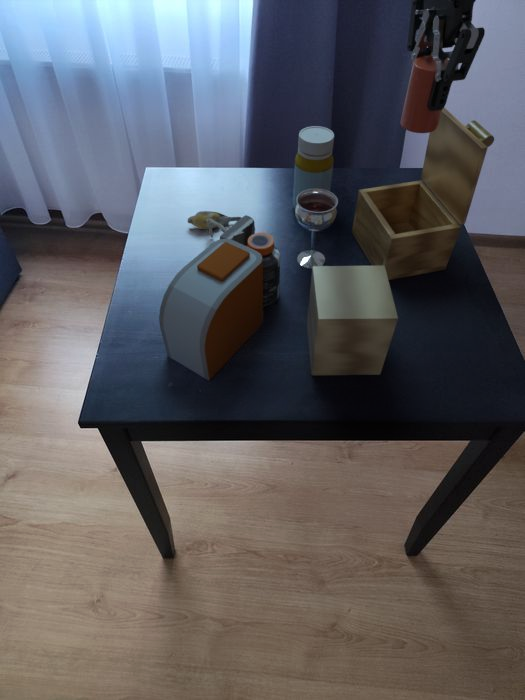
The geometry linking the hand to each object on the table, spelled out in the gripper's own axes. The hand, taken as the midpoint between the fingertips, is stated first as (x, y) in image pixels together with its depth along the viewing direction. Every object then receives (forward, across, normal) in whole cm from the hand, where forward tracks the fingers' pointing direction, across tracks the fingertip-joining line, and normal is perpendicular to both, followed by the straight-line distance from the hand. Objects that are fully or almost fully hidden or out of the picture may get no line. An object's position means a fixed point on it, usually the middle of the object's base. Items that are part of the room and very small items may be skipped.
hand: (425, 99), depth 65 cm
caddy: (+27, 0, -2) cm, 27 cm away
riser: (+27, -19, +16) cm, 36 cm away
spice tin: (+3, 0, 0) cm, 3 cm away
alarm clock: (+27, -12, +33) cm, 44 cm away
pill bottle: (+27, -5, +25) cm, 37 cm away
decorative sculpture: (+27, +10, +27) cm, 40 cm away
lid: (+11, 0, -7) cm, 13 cm away
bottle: (+27, +16, +9) cm, 33 cm away
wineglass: (+27, +2, +14) cm, 30 cm away
